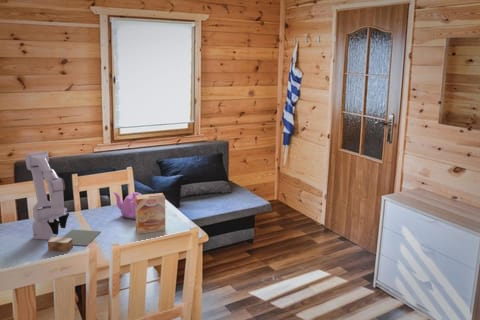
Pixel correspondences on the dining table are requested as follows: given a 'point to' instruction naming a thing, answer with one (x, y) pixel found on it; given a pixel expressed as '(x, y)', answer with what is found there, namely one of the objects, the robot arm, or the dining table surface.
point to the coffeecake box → (150, 213)
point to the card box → (60, 244)
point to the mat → (82, 236)
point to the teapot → (127, 205)
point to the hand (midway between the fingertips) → (59, 230)
